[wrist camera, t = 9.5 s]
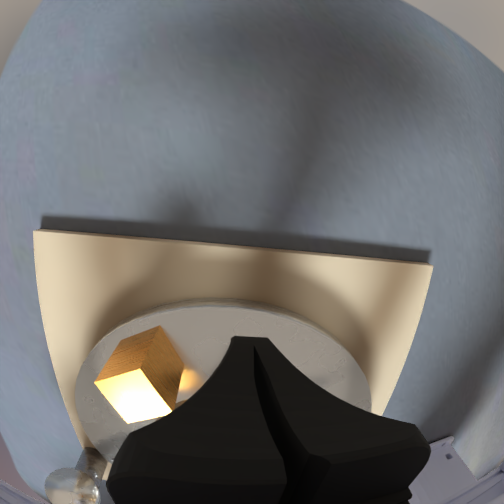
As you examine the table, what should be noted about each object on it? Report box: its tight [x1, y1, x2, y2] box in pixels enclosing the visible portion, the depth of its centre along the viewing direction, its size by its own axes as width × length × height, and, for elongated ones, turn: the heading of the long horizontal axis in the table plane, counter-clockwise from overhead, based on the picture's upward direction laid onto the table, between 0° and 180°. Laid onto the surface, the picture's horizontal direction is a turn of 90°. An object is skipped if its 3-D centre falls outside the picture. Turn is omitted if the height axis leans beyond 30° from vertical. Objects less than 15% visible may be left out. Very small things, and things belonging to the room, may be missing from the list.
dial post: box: [45, 447, 108, 504], centre depth 11 cm, size 4×3×7 cm
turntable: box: [75, 297, 372, 464], centre depth 11 cm, size 16×16×4 cm
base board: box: [33, 229, 433, 480], centre depth 14 cm, size 20×20×1 cm
